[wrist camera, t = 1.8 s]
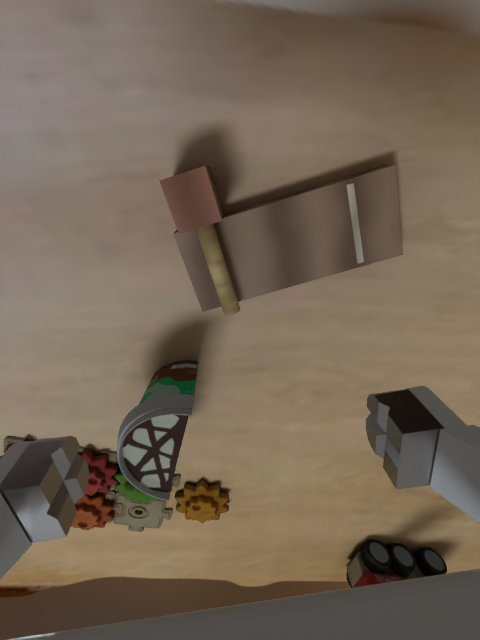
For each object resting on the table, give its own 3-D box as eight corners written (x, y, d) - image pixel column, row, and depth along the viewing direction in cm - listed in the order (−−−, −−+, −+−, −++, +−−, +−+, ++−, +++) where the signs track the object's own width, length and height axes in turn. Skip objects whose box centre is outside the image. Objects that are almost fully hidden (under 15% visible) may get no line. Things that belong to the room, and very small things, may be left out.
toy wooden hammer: (209, 166, 28) (205, 165, 23) (247, 294, 34) (251, 317, 28) (172, 178, 29) (159, 180, 23) (216, 303, 34) (213, 328, 28)
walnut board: (385, 164, 29) (396, 164, 27) (392, 249, 32) (403, 254, 30) (176, 230, 31) (173, 233, 29) (203, 304, 34) (202, 312, 32)
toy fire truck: (417, 576, 58) (489, 732, 42) (338, 565, 55) (382, 725, 39) (451, 538, 53) (547, 696, 37) (366, 524, 51) (430, 687, 35)
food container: (146, 339, 35) (118, 396, 26) (201, 350, 36) (192, 410, 27) (132, 422, 40) (105, 495, 31) (181, 431, 41) (167, 504, 32)
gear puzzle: (240, 464, 45) (241, 491, 41) (216, 535, 51) (215, 563, 48) (4, 429, 41) (-18, 455, 37) (10, 510, 47) (-8, 539, 44)
